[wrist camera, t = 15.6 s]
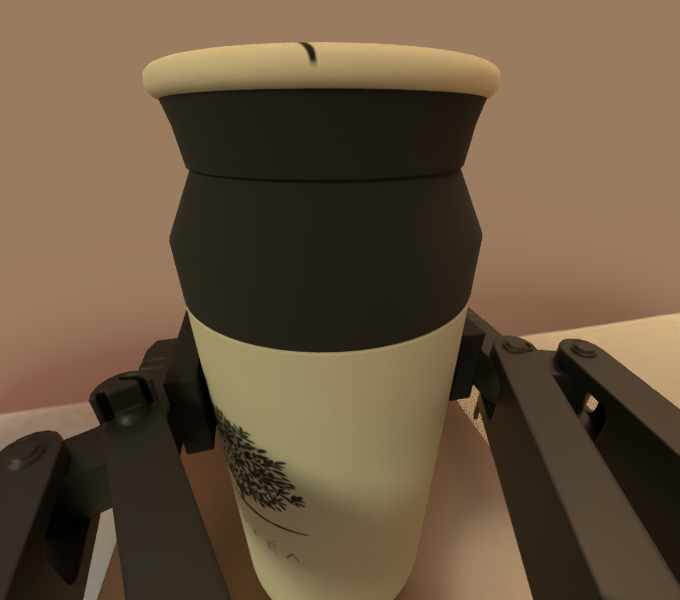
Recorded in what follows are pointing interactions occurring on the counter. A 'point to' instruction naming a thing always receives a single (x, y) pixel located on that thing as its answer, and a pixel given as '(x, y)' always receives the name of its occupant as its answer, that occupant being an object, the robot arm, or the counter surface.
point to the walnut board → (435, 540)
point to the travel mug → (326, 288)
